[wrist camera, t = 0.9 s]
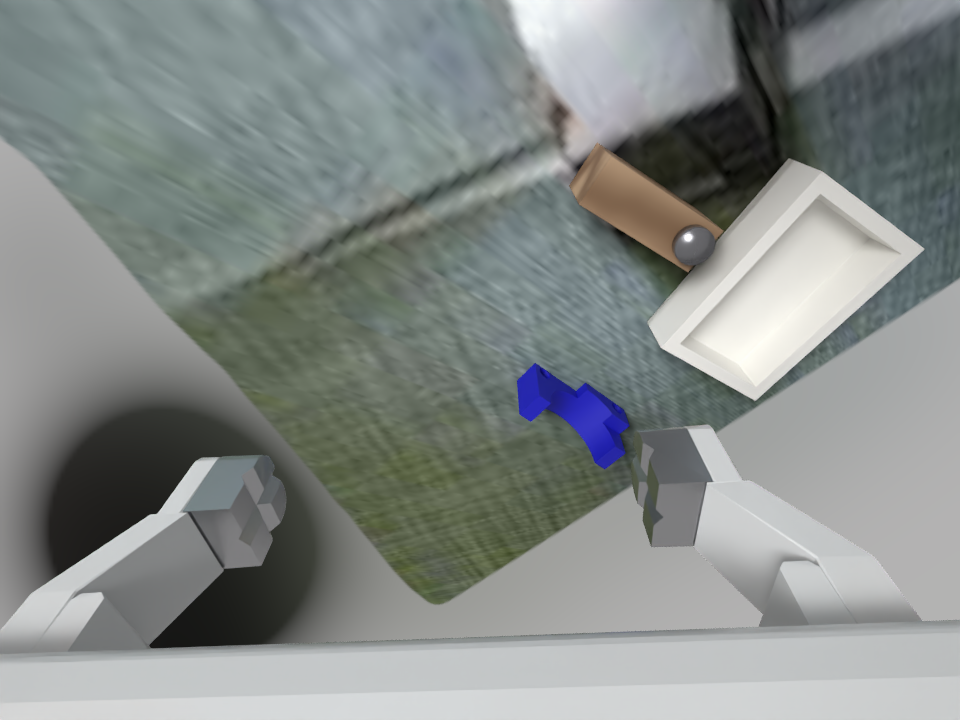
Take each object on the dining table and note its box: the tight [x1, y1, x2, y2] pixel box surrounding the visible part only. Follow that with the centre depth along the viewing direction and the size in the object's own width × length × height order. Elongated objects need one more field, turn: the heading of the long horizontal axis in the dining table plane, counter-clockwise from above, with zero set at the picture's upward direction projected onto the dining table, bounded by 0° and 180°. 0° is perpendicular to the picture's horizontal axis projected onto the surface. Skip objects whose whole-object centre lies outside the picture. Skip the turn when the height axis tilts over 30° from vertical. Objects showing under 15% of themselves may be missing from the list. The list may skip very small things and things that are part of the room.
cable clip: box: [517, 363, 629, 469], centre depth 53 cm, size 12×4×6 cm, turn 52°
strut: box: [569, 143, 723, 272], centre depth 41 cm, size 4×11×7 cm, turn 60°
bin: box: [647, 158, 924, 401], centre depth 45 cm, size 18×12×5 cm, turn 150°
